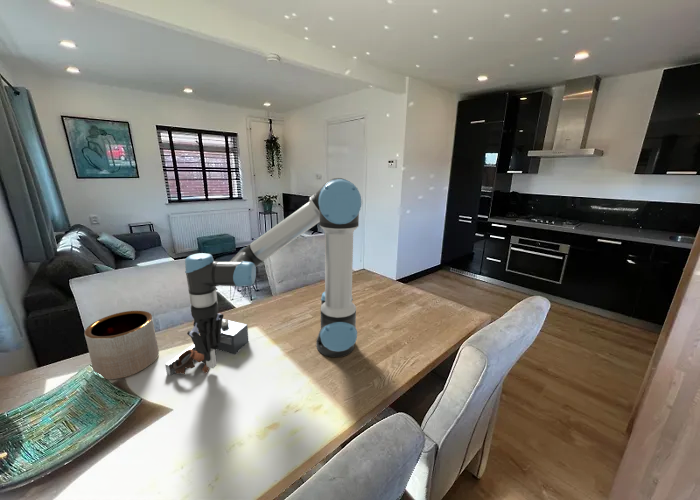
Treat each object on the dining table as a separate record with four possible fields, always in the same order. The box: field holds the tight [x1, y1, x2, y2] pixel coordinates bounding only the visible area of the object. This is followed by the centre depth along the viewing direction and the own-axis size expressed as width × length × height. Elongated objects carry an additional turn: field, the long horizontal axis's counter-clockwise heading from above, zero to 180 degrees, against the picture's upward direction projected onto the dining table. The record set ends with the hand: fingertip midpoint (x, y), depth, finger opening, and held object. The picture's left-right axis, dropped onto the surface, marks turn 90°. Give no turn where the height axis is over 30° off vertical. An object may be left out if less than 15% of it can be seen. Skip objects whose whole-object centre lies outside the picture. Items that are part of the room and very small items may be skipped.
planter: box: [84, 310, 160, 380], centre depth 95 cm, size 18×18×16 cm
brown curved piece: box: [173, 349, 210, 375], centre depth 95 cm, size 12×10×8 cm
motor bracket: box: [165, 318, 250, 376], centre depth 100 cm, size 14×24×10 cm, turn 163°
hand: (211, 366), depth 94 cm, fingers closed
